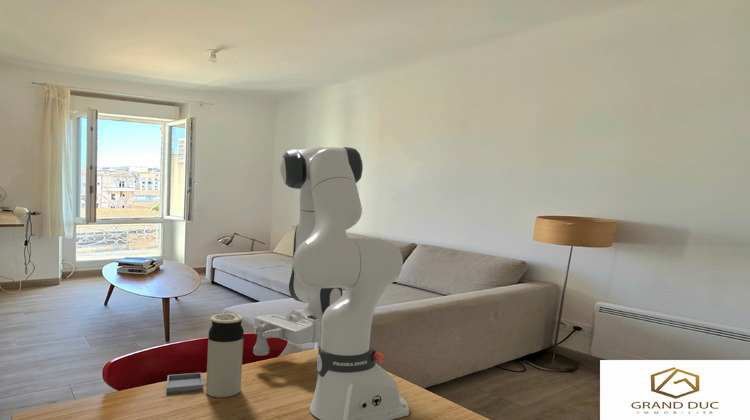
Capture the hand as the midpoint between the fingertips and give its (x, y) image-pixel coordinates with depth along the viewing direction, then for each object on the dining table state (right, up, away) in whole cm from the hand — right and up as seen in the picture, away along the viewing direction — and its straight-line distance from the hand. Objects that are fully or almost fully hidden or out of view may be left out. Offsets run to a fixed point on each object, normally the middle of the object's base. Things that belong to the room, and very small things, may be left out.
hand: (259, 332), depth 129 cm
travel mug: (-5, -11, -14) cm, 19 cm away
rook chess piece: (0, -6, +1) cm, 6 cm away
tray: (-15, -10, -12) cm, 22 cm away
